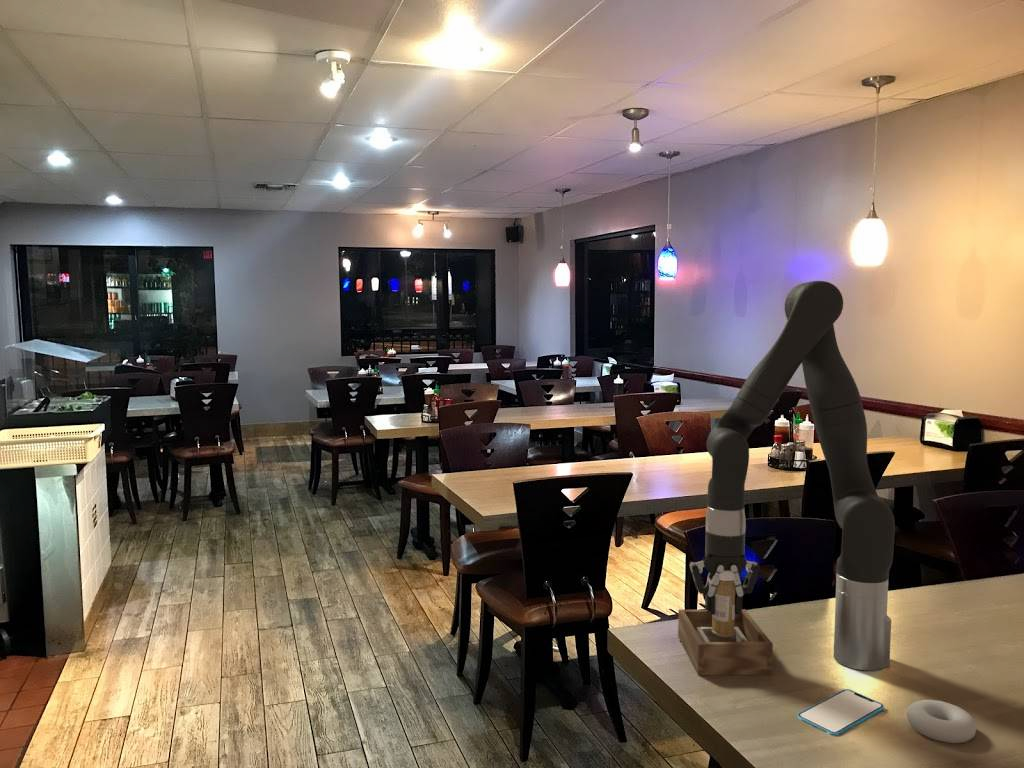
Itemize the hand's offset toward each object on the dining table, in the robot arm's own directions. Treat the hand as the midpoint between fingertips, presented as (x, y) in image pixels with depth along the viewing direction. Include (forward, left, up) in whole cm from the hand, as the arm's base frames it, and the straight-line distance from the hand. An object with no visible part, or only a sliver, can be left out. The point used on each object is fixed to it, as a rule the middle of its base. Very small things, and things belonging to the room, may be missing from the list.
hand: (723, 612), depth 153 cm
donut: (-28, +28, -9) cm, 41 cm away
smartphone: (-14, +23, -9) cm, 28 cm away
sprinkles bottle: (0, 0, -4) cm, 4 cm away
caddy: (0, 0, -9) cm, 9 cm away
